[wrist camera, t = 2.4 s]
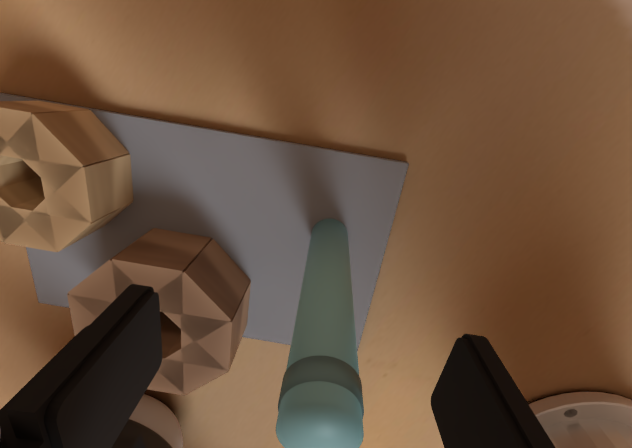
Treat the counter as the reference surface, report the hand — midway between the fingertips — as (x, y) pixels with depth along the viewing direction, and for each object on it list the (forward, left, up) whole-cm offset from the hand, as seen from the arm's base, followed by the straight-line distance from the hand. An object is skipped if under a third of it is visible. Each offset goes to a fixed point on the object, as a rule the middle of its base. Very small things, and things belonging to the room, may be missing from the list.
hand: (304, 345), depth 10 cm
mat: (+7, +2, -10) cm, 13 cm away
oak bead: (+15, -1, -10) cm, 18 cm away
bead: (+8, +6, -10) cm, 14 cm away
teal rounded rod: (-1, 0, -10) cm, 10 cm away
